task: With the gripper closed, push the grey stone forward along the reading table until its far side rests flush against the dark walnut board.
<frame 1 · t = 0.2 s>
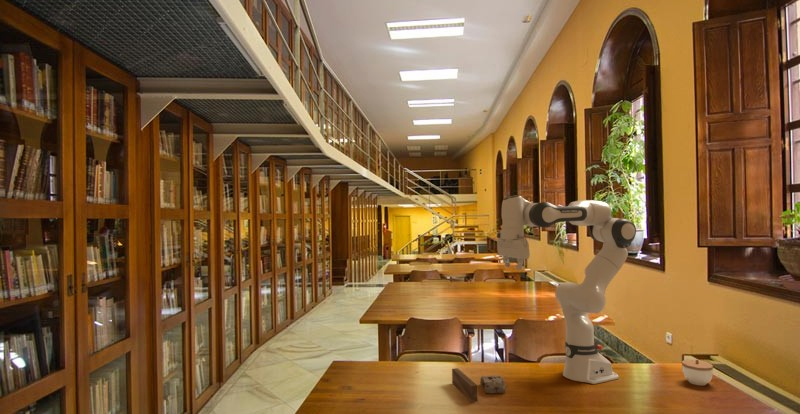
hand: (513, 268, 191), 47 cm above the table, tool pointing down, fingers open, 8 cm apart
stone: (492, 390, 185), on the table
lidded jar: (697, 383, 190), on the table
board: (464, 392, 182), on the table
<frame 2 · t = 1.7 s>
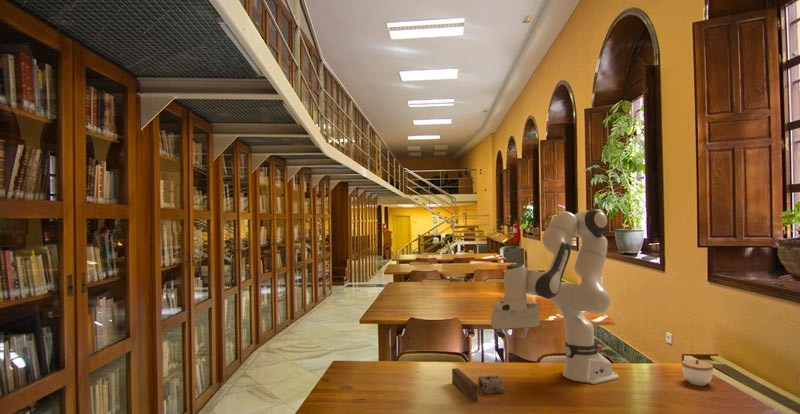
hand: (515, 338, 188), 19 cm above the table, tool pointing down, fingers open, 5 cm apart
nothing on the table moved.
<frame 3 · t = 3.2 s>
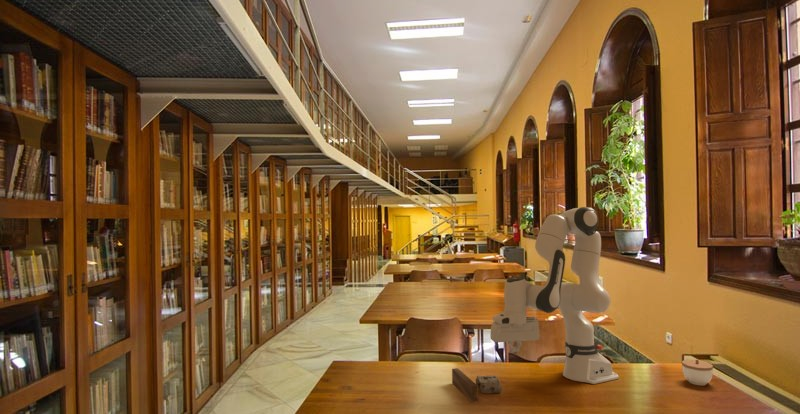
hand: (515, 352, 187), 14 cm above the table, tool pointing down, fingers closed
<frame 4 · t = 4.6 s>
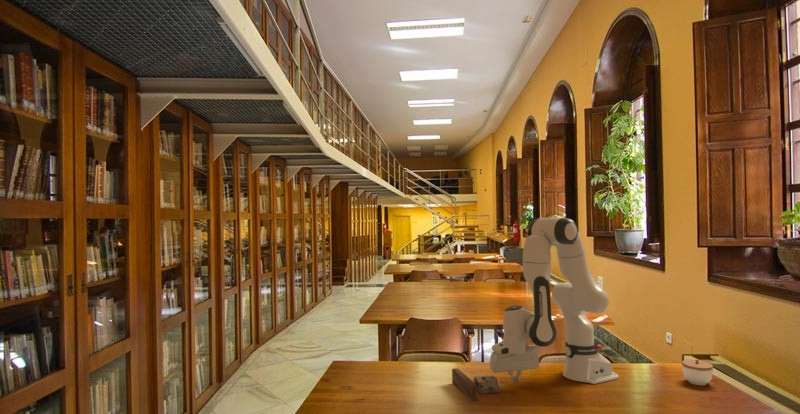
hand: (514, 381, 187), 2 cm above the table, tool pointing down, fingers closed
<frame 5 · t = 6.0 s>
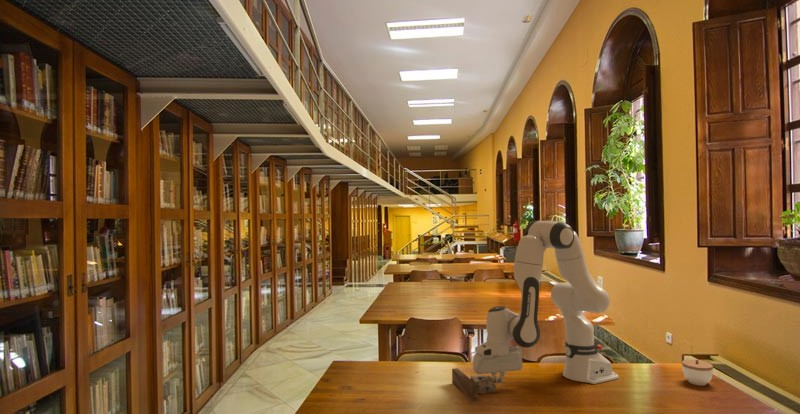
hand: (498, 382, 186), 2 cm above the table, tool pointing down, fingers closed
stone: (482, 390, 185), on the table, touching gripper
everything else where it was.
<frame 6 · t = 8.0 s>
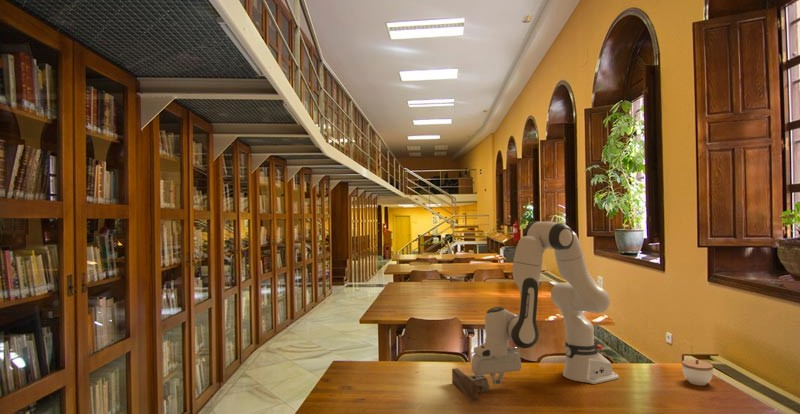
hand: (497, 383, 185), 2 cm above the table, tool pointing down, fingers closed
stone: (476, 389, 186), on the table
everything else where it was.
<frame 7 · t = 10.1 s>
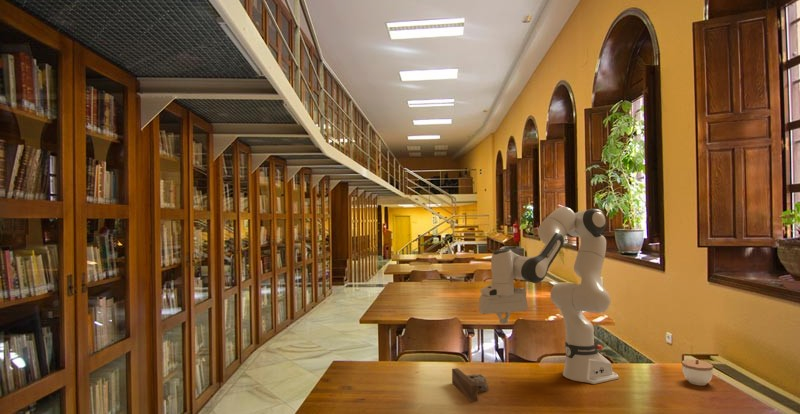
hand: (503, 323, 188), 25 cm above the table, tool pointing down, fingers closed
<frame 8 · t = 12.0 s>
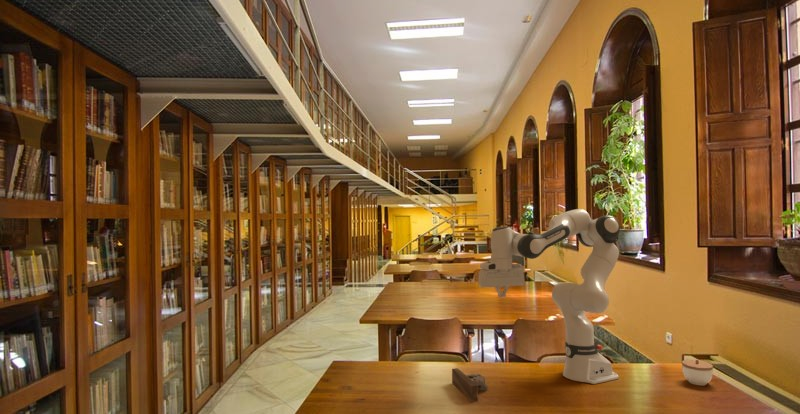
hand: (501, 296, 198), 34 cm above the table, tool pointing down, fingers closed
at the end: stone inside the target area on the table beside the board (3.8 cm from its centre), on the table; stone tilted 0° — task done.
